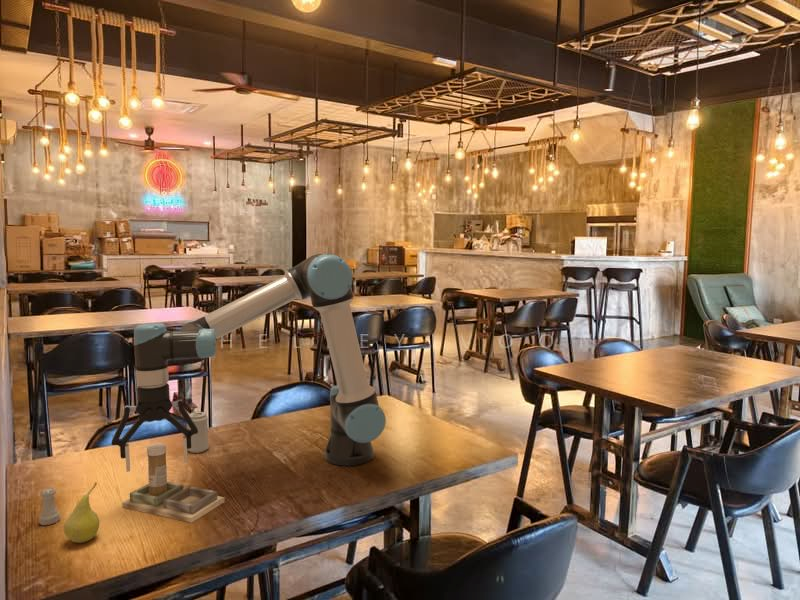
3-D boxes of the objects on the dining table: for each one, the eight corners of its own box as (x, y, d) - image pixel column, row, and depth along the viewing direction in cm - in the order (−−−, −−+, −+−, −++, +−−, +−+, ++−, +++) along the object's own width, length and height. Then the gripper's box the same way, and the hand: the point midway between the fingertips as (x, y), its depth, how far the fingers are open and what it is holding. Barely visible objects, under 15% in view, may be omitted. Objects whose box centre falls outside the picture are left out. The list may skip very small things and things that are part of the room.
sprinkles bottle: (146, 495, 146) (144, 445, 145) (164, 490, 149) (162, 441, 148) (152, 501, 142) (150, 450, 141) (170, 496, 146) (168, 445, 144)
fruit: (58, 544, 124) (55, 492, 123) (88, 529, 131) (85, 479, 130) (80, 550, 122) (77, 497, 121) (109, 534, 129) (107, 483, 128)
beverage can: (211, 447, 185) (210, 411, 184) (203, 454, 178) (202, 417, 177) (193, 446, 185) (192, 411, 184) (183, 453, 179) (182, 416, 178)
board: (224, 501, 145) (224, 489, 145) (191, 522, 134) (191, 509, 134) (158, 488, 153) (158, 476, 153) (122, 507, 142) (121, 494, 142)
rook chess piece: (45, 517, 137) (43, 485, 136) (64, 516, 137) (62, 485, 136) (34, 526, 132) (32, 493, 131) (54, 525, 133) (52, 493, 132)
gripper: (203, 376, 151) (207, 452, 153) (98, 386, 141) (104, 468, 143) (205, 382, 144) (209, 462, 146) (96, 393, 134) (101, 479, 137)
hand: (157, 465), depth 145 cm, fingers open, 13 cm apart
